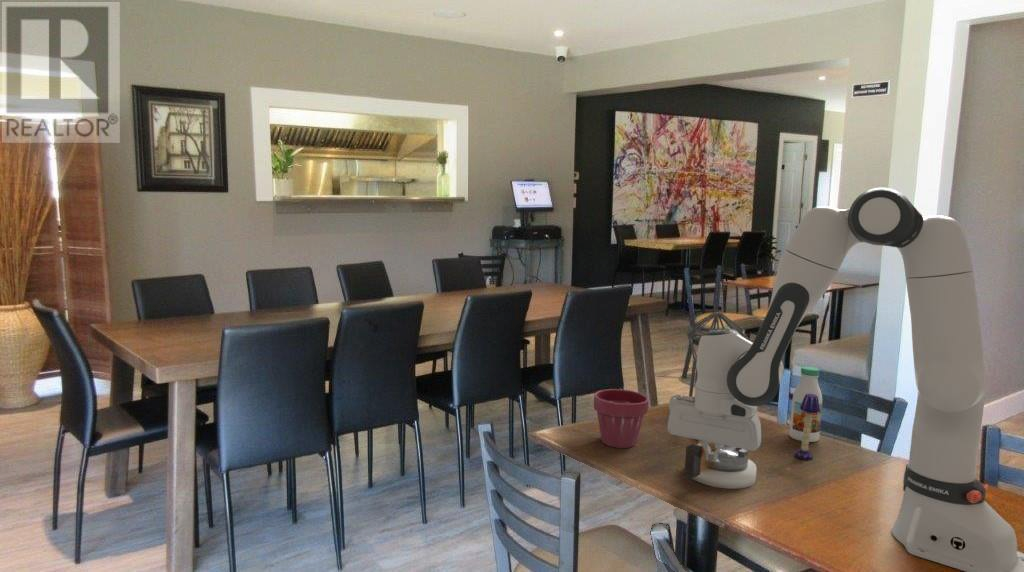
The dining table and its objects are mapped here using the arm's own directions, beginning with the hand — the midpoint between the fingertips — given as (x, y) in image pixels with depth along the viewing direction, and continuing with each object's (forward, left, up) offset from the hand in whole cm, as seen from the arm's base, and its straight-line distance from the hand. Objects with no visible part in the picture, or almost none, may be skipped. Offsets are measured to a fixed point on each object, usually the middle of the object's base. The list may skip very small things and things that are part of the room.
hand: (711, 460), depth 156 cm
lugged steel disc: (+3, -5, -4) cm, 7 cm away
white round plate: (+4, -10, -7) cm, 13 cm away
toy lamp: (-2, -38, -7) cm, 38 cm away
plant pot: (+33, -6, -7) cm, 34 cm away
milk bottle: (+6, -52, -7) cm, 53 cm away
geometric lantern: (+22, -31, -7) cm, 38 cm away
